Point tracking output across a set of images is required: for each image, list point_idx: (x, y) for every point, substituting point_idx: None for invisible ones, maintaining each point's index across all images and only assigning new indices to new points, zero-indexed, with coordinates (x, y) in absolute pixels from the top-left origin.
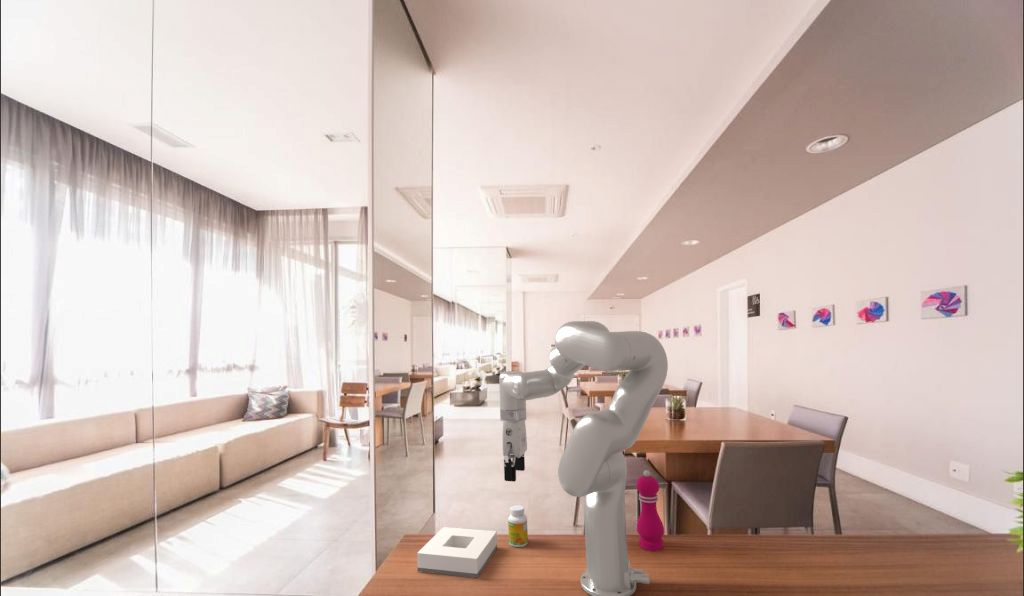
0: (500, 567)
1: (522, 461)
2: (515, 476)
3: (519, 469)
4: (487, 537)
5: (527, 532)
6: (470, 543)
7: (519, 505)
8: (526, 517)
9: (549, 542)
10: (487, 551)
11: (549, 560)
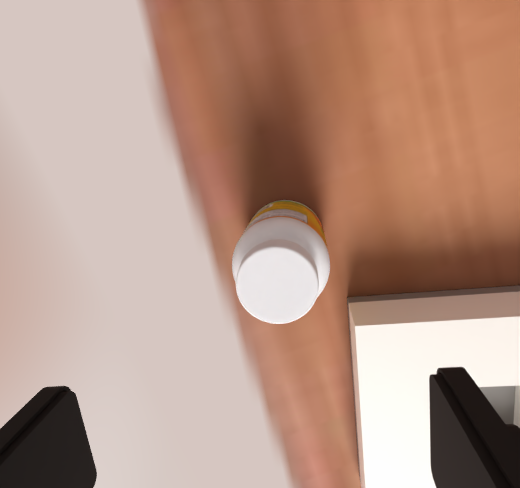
0: (492, 231)
1: (3, 480)
2: (483, 398)
3: (79, 435)
4: (427, 340)
5: (274, 207)
6: (497, 383)
7: (240, 284)
8: (270, 222)
9: (240, 116)
10: (480, 305)
11: (396, 61)
